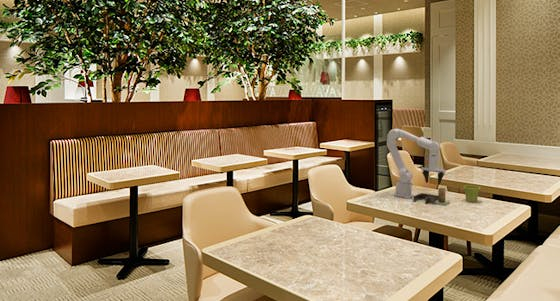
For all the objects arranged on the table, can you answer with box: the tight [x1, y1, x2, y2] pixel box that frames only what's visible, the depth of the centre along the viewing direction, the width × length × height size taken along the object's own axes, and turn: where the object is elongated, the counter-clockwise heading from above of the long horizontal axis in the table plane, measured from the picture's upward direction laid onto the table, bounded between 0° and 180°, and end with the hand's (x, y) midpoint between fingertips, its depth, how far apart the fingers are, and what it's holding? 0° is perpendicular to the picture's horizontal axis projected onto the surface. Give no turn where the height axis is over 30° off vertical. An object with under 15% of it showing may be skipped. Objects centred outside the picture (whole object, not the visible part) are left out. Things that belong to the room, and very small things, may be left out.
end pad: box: [434, 200, 451, 206], centre depth 255 cm, size 7×7×1 cm
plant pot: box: [463, 185, 481, 203], centre depth 260 cm, size 9×9×9 cm
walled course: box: [412, 192, 438, 205], centre depth 260 cm, size 12×11×4 cm
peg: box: [437, 187, 446, 203], centre depth 255 cm, size 4×4×8 cm
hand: (433, 183), depth 265 cm, fingers open, 7 cm apart
